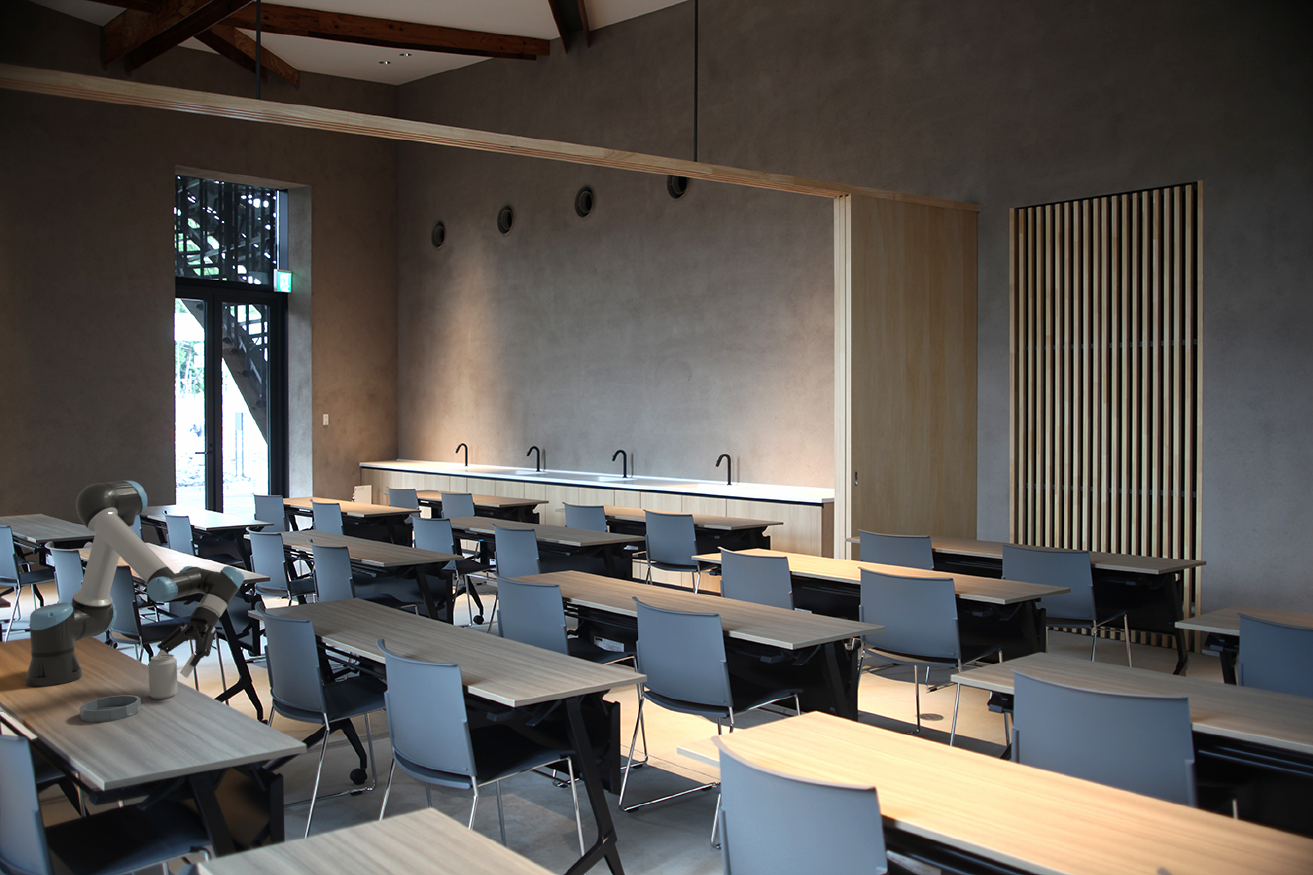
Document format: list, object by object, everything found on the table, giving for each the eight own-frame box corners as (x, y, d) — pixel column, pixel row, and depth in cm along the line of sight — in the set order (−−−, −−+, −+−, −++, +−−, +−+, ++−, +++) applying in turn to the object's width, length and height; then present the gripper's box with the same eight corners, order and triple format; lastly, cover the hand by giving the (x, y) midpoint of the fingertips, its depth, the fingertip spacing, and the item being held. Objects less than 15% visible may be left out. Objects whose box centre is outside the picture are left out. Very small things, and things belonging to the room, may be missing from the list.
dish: (75, 714, 276) (74, 703, 276) (131, 702, 286) (130, 692, 286) (89, 725, 266) (88, 714, 266) (147, 713, 276) (146, 702, 276)
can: (170, 699, 289) (168, 659, 288) (144, 700, 289) (142, 659, 288) (182, 692, 296) (181, 652, 296) (158, 692, 296) (156, 653, 296)
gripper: (244, 621, 303) (205, 683, 290) (188, 616, 314) (147, 675, 301) (229, 608, 298) (189, 670, 285) (172, 603, 309) (131, 662, 296)
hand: (167, 673), depth 293 cm, fingers open, 13 cm apart
